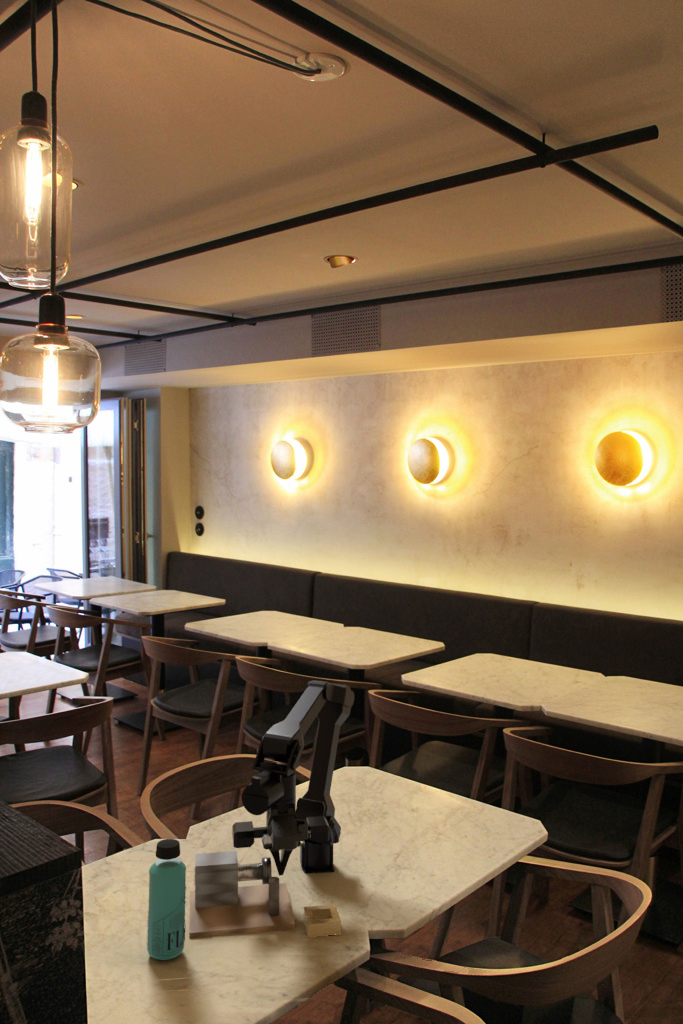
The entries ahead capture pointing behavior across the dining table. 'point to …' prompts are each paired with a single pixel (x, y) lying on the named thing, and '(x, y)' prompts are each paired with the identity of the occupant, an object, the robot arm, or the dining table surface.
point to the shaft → (256, 871)
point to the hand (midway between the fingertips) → (280, 874)
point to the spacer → (322, 920)
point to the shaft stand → (234, 900)
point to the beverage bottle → (166, 902)
